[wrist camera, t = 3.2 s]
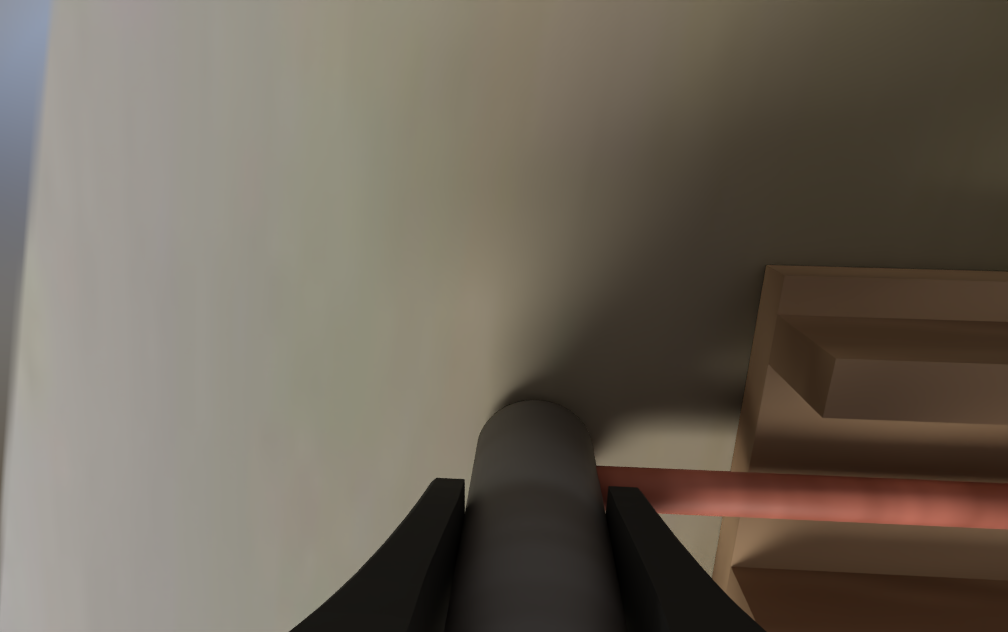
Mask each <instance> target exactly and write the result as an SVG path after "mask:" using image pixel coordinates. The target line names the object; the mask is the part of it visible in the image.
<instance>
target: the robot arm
mask: <svg viewBox="0 0 1008 632" xmlns="http://www.w3.org/2000/svg"><path fill="white" fill-rule="evenodd" d="M464 516H465V479H448V478H436V479H435V480H433V481H432V482H431V483H430V485H429V486H428V488H427V489H426V491H425V492H424V494H423V495H422V496H421V498H420V499H419V500H418V502H417V503H416V505H415V506H414V507H413V508H412V510H411V511H410V512H409V514H408V515H407V516H406V518H405V519H404V520H403V521H402V522H401V524H400V525H399V526H398V527H397V528H396V530H395V531H394V532H393V533H392V534H391V536H390V537H389V538H388V539H387V540H386V541H385V543H384V544H383V545H382V546H381V547H380V548H379V549H378V550H377V551H376V552H375V554H374V555H373V556H372V557H371V558H370V559H369V560H368V561H367V562H366V563H365V564H364V565H363V566H362V567H361V568H360V569H359V571H358V572H357V573H356V574H355V575H354V576H353V577H352V578H350V579H349V580H348V581H347V582H346V583H345V584H344V585H343V586H342V587H341V588H340V589H339V590H338V591H337V592H336V593H335V594H333V595H332V596H331V597H330V598H329V599H328V600H327V601H326V602H325V603H323V604H322V605H321V606H320V607H319V608H318V609H316V610H315V611H314V612H313V613H312V614H310V615H309V616H308V617H307V618H305V619H304V620H303V621H302V622H301V623H299V624H298V625H297V626H296V627H294V628H293V629H292V630H291V631H289V632H444V628H445V623H446V617H447V611H448V606H449V600H450V594H451V589H452V583H453V578H454V572H455V566H456V561H457V555H458V550H459V544H460V538H461V533H462V527H463V521H464ZM606 519H607V524H608V529H609V535H610V540H611V545H612V551H613V556H614V561H615V566H616V572H617V577H618V582H619V587H620V593H621V598H622V603H623V609H624V614H625V619H626V624H627V630H628V632H766V631H765V630H764V629H763V628H762V627H761V626H760V625H759V624H758V623H757V622H755V621H754V620H753V619H752V618H751V617H750V616H749V615H748V614H747V613H746V612H744V611H743V610H742V609H741V608H740V607H739V606H738V605H737V604H736V603H735V602H734V601H733V600H732V599H731V598H730V597H729V596H728V595H727V594H726V593H725V592H724V591H723V590H722V589H721V588H720V586H719V585H718V584H717V583H716V582H715V581H714V580H713V579H712V578H711V577H710V576H709V575H708V574H707V573H706V571H705V570H704V569H703V568H702V567H701V566H700V565H699V564H698V562H697V561H696V560H695V559H694V558H693V556H692V555H691V554H690V553H689V552H688V551H687V549H686V548H685V547H684V546H683V545H682V544H681V542H680V541H679V540H678V539H677V537H676V536H675V535H674V534H673V532H672V531H671V530H670V529H669V527H668V526H667V525H666V524H665V522H664V521H663V520H662V518H661V517H660V516H659V514H658V513H657V512H656V510H655V509H654V508H653V506H652V505H651V504H650V502H649V501H648V500H647V498H646V497H645V496H644V494H643V493H642V492H641V491H640V490H639V488H638V487H619V486H608V495H607V505H606Z"/></svg>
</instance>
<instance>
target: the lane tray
mask: <svg viewBox="0 0 1008 632" xmlns="http://www.w3.org/2000/svg"><path fill="white" fill-rule="evenodd" d="M731 472H754V473H777V474H801V475H824V476H847V477H871V478H894V479H917V480H940V481H964V482H987V483H1008V272H1007V271H970V270H934V269H897V268H861V267H824V266H787V265H766V269H765V275H764V281H763V287H762V292H761V298H760V304H759V310H758V315H757V321H756V327H755V333H754V339H753V344H752V350H751V356H750V362H749V367H748V373H747V379H746V385H745V391H744V396H743V402H742V408H741V414H740V419H739V425H738V431H737V437H736V443H735V448H734V454H733V460H732V466H731ZM712 579H713V580H714V581H715V582H716V583H717V584H718V585H719V586H720V588H721V589H722V590H723V591H724V592H725V593H726V594H727V595H728V596H729V597H730V598H731V599H732V600H733V601H734V602H735V603H736V604H737V605H738V606H739V607H740V608H741V609H742V610H743V611H744V612H746V613H747V614H748V615H749V616H750V617H751V618H752V619H753V620H754V621H755V622H757V623H758V624H759V625H760V626H761V627H762V628H763V629H764V630H765V631H766V632H1008V529H986V528H965V527H943V526H922V525H900V524H878V523H857V522H835V521H814V520H792V519H770V518H749V517H727V516H723V518H722V523H721V529H720V535H719V541H718V547H717V552H716V558H715V564H714V570H713V575H712Z"/></svg>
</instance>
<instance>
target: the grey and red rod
mask: <svg viewBox="0 0 1008 632" xmlns="http://www.w3.org/2000/svg"><path fill="white" fill-rule="evenodd" d="M608 486H619V487H638V488H639V490H640V491H641V492H642V493H643V494H644V496H645V497H646V498H647V500H648V501H649V502H650V504H651V505H652V506H653V508H654V509H655V510H656V512H657V513H662V514H684V515H706V516H727V517H749V518H770V519H792V520H814V521H835V522H857V523H878V524H900V525H922V526H943V527H965V528H986V529H1008V483H987V482H964V481H940V480H917V479H894V478H871V477H847V476H824V475H801V474H777V473H754V472H731V471H707V470H684V469H661V468H638V467H614V466H596V461H595V456H594V450H593V445H592V440H591V437H590V434H589V432H588V430H587V428H586V427H585V425H584V424H583V422H582V421H581V420H580V419H579V418H578V417H577V416H576V415H575V414H574V413H572V412H571V411H569V410H568V409H566V408H564V407H562V406H560V405H558V404H555V403H552V402H547V401H540V400H528V401H521V402H517V403H513V404H511V405H508V406H506V407H504V408H502V409H501V410H499V411H498V412H496V413H495V414H494V415H493V416H492V417H491V418H490V419H489V420H488V421H487V422H486V424H485V425H484V427H483V429H482V430H481V433H480V435H479V439H478V443H477V448H476V454H475V460H474V465H473V471H472V476H471V482H470V488H469V493H468V499H467V505H466V510H465V516H464V521H463V527H462V533H461V538H460V544H459V550H458V555H457V561H456V566H455V572H454V578H453V583H452V589H451V594H450V600H449V606H448V611H447V617H446V623H445V628H444V632H628V630H627V624H626V619H625V614H624V609H623V603H622V598H621V593H620V587H619V582H618V577H617V572H616V566H615V561H614V556H613V551H612V545H611V540H610V535H609V529H608V524H607V519H606V514H605V511H606V505H607V495H608Z"/></svg>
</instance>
